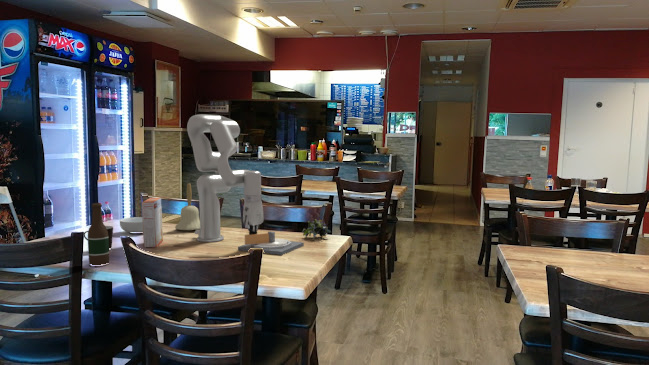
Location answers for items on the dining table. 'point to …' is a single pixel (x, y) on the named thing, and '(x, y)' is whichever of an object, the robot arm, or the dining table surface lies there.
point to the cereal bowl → (132, 224)
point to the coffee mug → (110, 234)
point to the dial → (264, 239)
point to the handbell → (189, 214)
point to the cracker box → (152, 222)
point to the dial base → (274, 247)
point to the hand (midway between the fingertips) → (253, 239)
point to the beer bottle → (98, 238)
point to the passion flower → (316, 228)
